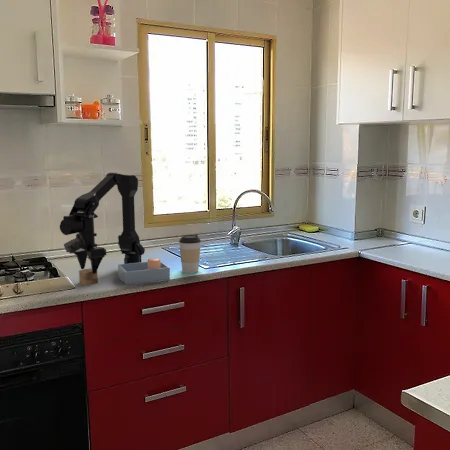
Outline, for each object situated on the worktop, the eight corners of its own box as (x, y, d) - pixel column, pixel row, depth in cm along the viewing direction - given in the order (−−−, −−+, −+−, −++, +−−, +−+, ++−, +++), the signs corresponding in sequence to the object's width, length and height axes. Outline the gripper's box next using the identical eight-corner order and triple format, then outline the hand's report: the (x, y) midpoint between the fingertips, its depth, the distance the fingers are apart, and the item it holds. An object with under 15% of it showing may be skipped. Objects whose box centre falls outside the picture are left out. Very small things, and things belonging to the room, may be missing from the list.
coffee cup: (183, 274, 205) (182, 238, 203) (176, 269, 213) (175, 234, 211) (204, 272, 209) (204, 236, 206) (196, 267, 217) (196, 232, 214)
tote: (160, 272, 208) (159, 260, 208) (169, 280, 197) (169, 267, 196) (118, 276, 202) (118, 264, 201) (126, 285, 190) (125, 272, 189)
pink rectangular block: (156, 274, 202) (156, 257, 201) (162, 277, 198) (162, 260, 197) (145, 276, 199) (145, 259, 198) (151, 279, 195) (151, 261, 194)
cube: (91, 280, 196) (91, 268, 196) (97, 283, 193) (97, 270, 192) (79, 283, 193) (78, 270, 192) (85, 285, 189) (85, 272, 189)
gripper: (55, 230, 191) (57, 270, 194) (77, 236, 178) (80, 279, 180) (82, 226, 199) (84, 265, 201) (106, 233, 185) (108, 274, 187)
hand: (88, 271), depth 192 cm, fingers open, 9 cm apart
